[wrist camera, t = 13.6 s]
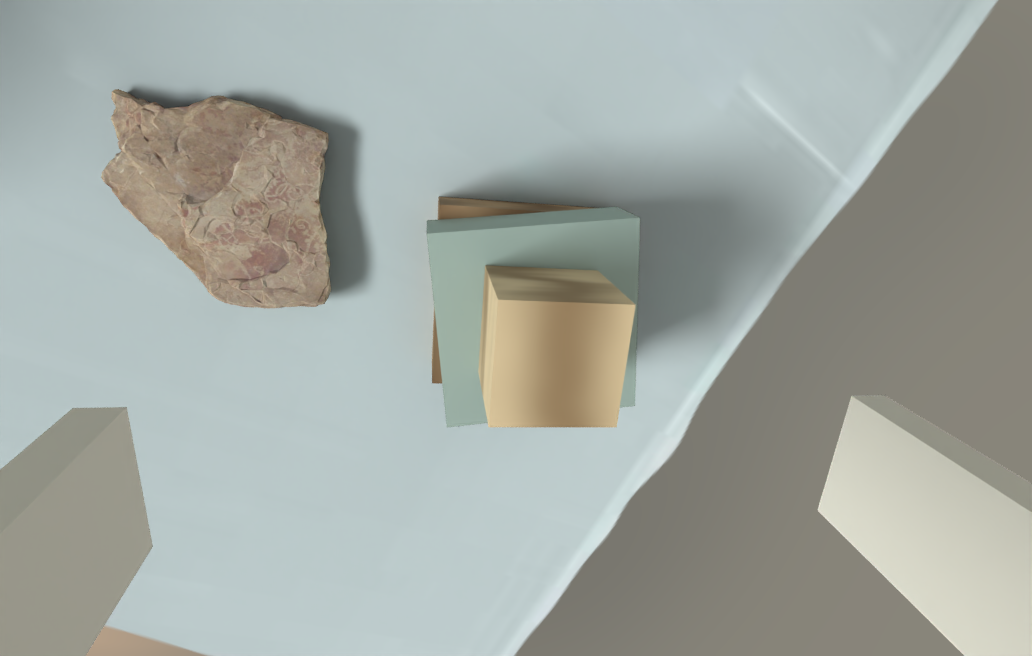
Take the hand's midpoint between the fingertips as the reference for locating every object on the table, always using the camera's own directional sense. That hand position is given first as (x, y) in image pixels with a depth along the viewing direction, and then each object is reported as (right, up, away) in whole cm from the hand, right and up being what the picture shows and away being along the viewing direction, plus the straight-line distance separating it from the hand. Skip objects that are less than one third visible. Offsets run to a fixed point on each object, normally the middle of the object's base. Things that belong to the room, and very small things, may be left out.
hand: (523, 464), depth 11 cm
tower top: (+1, +4, +24) cm, 24 cm away
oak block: (+1, +3, +20) cm, 20 cm away
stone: (-17, +11, +23) cm, 30 cm away
